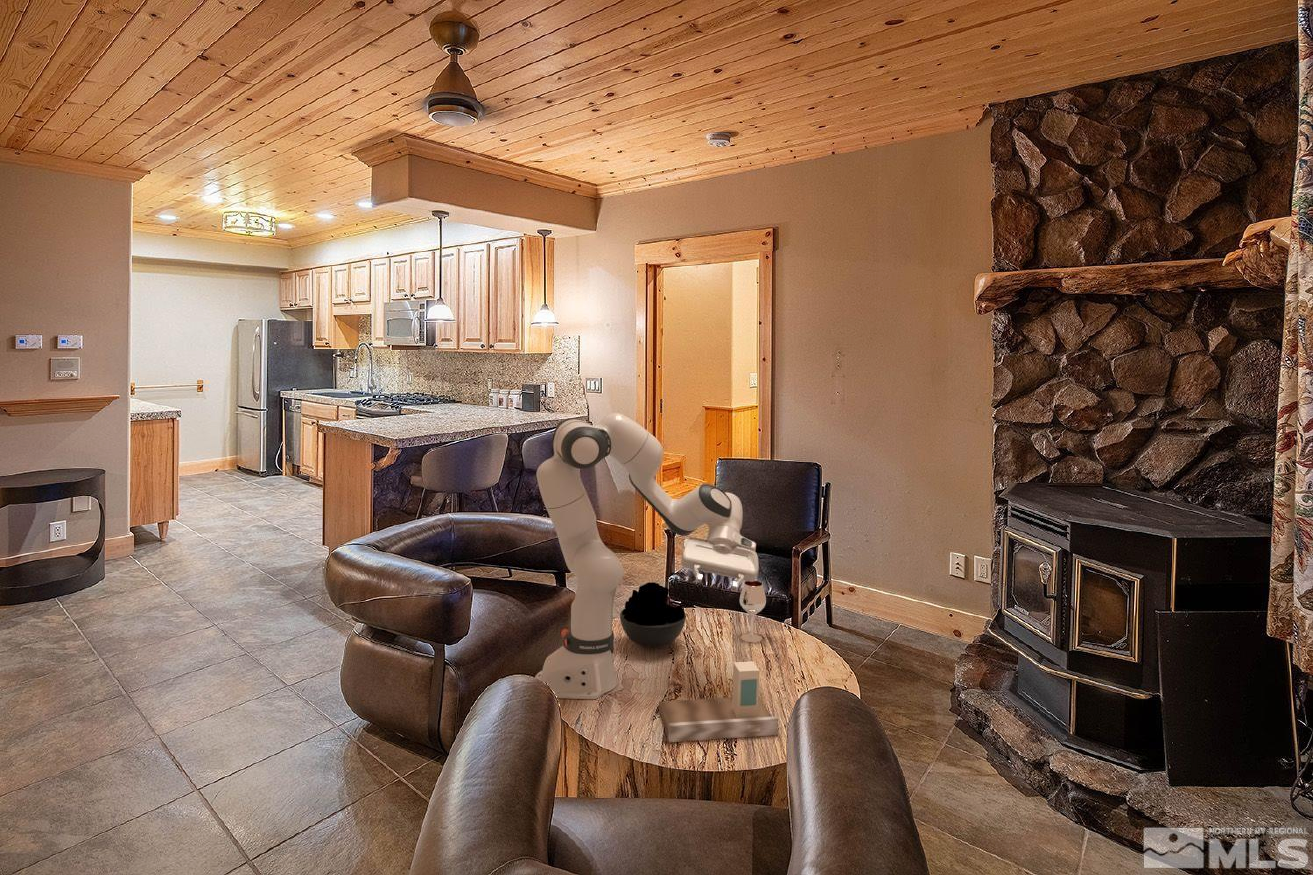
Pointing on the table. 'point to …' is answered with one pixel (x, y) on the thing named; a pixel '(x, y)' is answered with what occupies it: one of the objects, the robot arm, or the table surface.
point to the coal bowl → (651, 617)
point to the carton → (745, 690)
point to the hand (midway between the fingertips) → (716, 585)
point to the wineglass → (752, 605)
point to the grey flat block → (713, 720)
